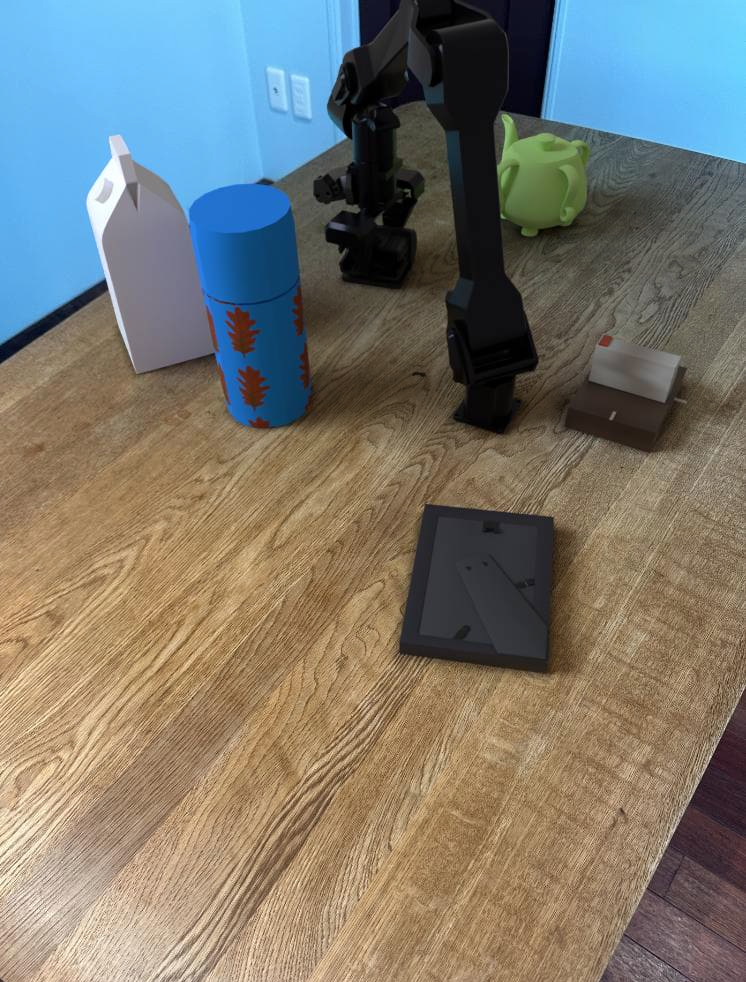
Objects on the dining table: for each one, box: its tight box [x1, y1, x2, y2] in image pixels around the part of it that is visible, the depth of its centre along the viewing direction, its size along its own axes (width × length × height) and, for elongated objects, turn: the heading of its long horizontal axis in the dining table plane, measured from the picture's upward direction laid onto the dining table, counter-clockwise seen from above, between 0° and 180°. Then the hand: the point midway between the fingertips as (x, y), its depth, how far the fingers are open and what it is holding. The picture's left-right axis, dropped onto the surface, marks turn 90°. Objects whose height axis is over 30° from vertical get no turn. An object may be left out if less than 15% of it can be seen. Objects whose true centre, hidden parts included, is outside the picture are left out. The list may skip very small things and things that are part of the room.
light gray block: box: [589, 334, 682, 403], centre depth 93 cm, size 9×2×5 cm, turn 59°
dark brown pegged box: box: [564, 365, 688, 453], centre depth 96 cm, size 13×13×3 cm
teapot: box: [497, 113, 591, 237], centre depth 123 cm, size 16×14×13 cm
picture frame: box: [398, 503, 555, 674], centre depth 79 cm, size 13×2×18 cm
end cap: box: [337, 224, 418, 290], centre depth 117 cm, size 10×7×7 cm
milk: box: [85, 134, 215, 375], centre depth 102 cm, size 12×12×26 cm
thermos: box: [188, 183, 312, 429], centre depth 92 cm, size 11×11×25 cm
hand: (377, 263), depth 118 cm, fingers closed on end cap, 7 cm apart
